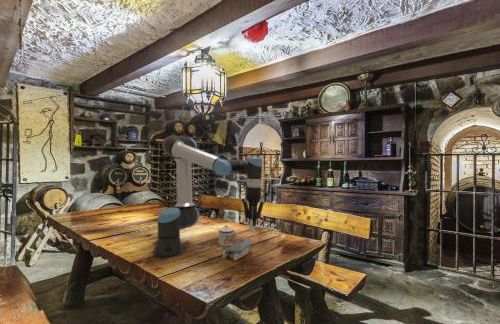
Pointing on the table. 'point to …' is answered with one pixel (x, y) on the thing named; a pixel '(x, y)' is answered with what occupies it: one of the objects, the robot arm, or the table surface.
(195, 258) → the table surface
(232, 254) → the dowel
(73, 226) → the table surface
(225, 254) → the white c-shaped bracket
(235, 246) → the cover
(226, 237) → the teacup with lid
